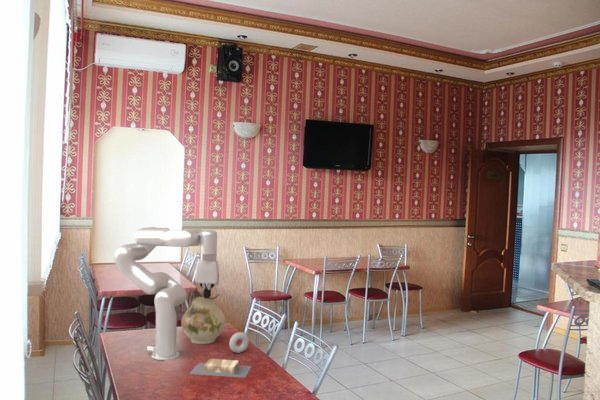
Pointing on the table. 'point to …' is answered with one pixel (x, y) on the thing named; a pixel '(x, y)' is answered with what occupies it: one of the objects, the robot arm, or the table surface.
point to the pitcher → (203, 319)
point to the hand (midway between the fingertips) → (206, 298)
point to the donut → (243, 345)
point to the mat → (240, 372)
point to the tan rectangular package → (221, 366)
